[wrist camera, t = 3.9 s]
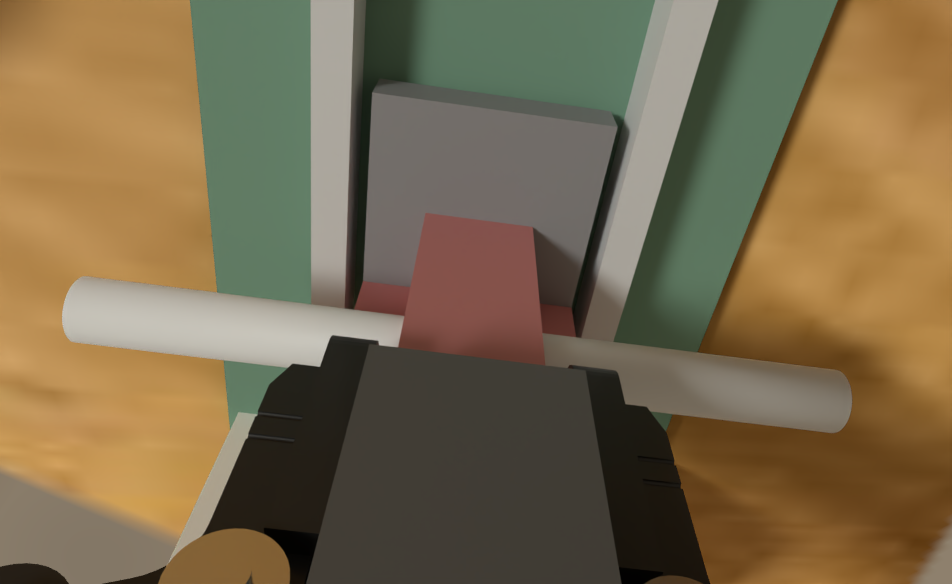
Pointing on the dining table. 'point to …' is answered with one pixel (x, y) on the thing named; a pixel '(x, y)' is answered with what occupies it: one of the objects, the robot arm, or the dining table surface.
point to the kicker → (466, 350)
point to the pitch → (513, 75)
